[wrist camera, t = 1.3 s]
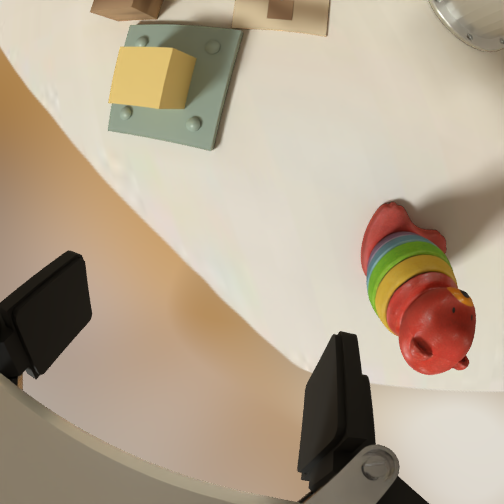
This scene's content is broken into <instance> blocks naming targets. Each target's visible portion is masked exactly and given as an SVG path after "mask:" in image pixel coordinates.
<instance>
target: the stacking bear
mask: <svg viewBox="0 0 504 504" xmlns="http://www.w3.org/2000/svg"><path fill="white" fill-rule="evenodd" d="M446 250H447V248H446V240H445V238H444V236H442V235H440V233H439V232H438V231H437V230H425V229H421V228H419V227H417V226H416V225H414V224H413V223H412V222H411V220H410V218H409V216H408V214H407V212H406V210H405V209H404V207H402V206H400V205H397V204H396V203H395V202H391V203H389V204H383V205H382V206H380V207H379V208H378V209H377V211H376V212H375V213H374V215H373V217H372V218H371V220H370V222H369V224H368V226H367V229H366V231H365V234H364V238H363V242H362V247H361V264H362V269H363V271H364V273H365V275H366V277H367V291H368V296H369V300H370V302H371V305H372V307H373V309H374V311H375V312H376V314H377V315H378V317H379V318H380V320H381V321H382V323H383V324H384V325H385V327H386V328H387V329H388V330H389V331H390V332H391V333H393V334H394V335H396V336H399V345H400V349H401V352H402V355H403V357H404V359H405V360H406V362H407V363H408V365H409V366H410V367H412V368H413V369H414V370H416V371H417V372H420V373H422V374H426V375H434V374H439V373H443V372H445V371H447V370H449V369H451V368H455V369H456V370H463V369H465V368H467V367H468V365H469V360H468V358H467V356H466V354H467V352H468V351H469V349H470V347H471V345H472V342H473V338H474V333H475V325H476V314H475V308H474V305H473V302H472V300H471V298H470V297H469V295H468V294H467V293H466V292H464V291H462V290H460V289H458V286H457V282H456V278H455V276H454V273H453V269H452V267H451V265H450V262H449V261H448V259H447V257H446V255H445V253H446Z"/></svg>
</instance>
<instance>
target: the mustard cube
mask: <svg viewBox="0 0 504 504" xmlns="http://www.w3.org/2000/svg"><path fill="white" fill-rule="evenodd" d="M196 59H197V58H195V57H193V56H190V55H188V54H186V53H184V52H182V51H179V50H177V49H175V48H167V47H120V50H119V54H118V58H117V62H116V66H115V71H114V76H113V80H112V85H111V91H110V96H109V102H108V103H113V104H123V105H132V106H140V107H148V108H155V109H184V108H185V104H186V99H187V95H188V90H189V86H190V82H191V78H192V74H193V70H194V66H195V62H196Z"/></svg>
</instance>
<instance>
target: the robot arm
mask: <svg viewBox="0 0 504 504" xmlns="http://www.w3.org/2000/svg"><path fill="white" fill-rule="evenodd" d="M429 3H430V5H431V7H432V9H433V10H434V12H435V13H436V15H437V16H438V18H439V19H440V20H441V21H442V23H443V24H444V25H445V26H446V27H447V28H448V29H449V30H450V31H451V32H452V33H453V34H454V35H455V36H456V37H458V38H459V39H460V40H461V41H463V42H464V43H466V44H467V45H469V46H471V47H473V48H475V49H478V50H481V51H487V52H492V51H497V50H501V49H503V48H504V0H429ZM91 317H92V310H91V304H90V297H89V290H88V283H87V276H86V266H85V261H84V260H83V257H82V255H80V254H78V253H75V252H73V251H67V252H65V253H64V254H62V255H61V256H59V257H58V258H57V259H55V260H54V261H53V262H51V263H50V264H49V265H47V266H46V267H44V268H43V269H42V270H41V271H39V272H38V273H37V274H35V275H34V276H33V277H31V278H30V279H29V280H28V281H26V282H25V283H24V284H23V285H21V286H20V287H19V288H17V290H15V291H14V292H13V293H11V294H10V295H9V296H8V297H6V299H4V300H3V301H2V302H1V303H0V504H429V503H427V501H425V500H424V499H423V498H422V497H421V496H420V495H419V494H417V493H416V492H415V491H414V490H413V489H412V488H411V487H409V486H408V485H407V484H406V483H405V482H404V481H403V480H401V479H400V478H399V477H398V474H399V461H398V459H397V457H396V455H395V454H394V453H393V452H392V450H390V449H389V448H387V447H385V446H382V445H376V443H375V430H374V418H373V408H372V399H371V390H370V382H369V378H368V376H367V375H362V370H361V362H360V354H359V347H358V339H357V335H356V334H351V333H347V332H342V331H340V332H339V333H338V335H336V334H333V335H332V337H331V339H330V341H329V343H328V345H327V347H326V349H325V351H324V353H323V354H322V356H321V358H320V360H319V362H318V364H317V366H316V368H315V370H314V371H313V373H312V375H311V377H310V379H309V381H308V383H307V385H306V389H305V398H304V410H303V422H302V432H301V441H300V450H299V459H298V467H297V469H298V472H301V473H302V477H301V480H305V481H309V489H310V490H311V491H310V492H309V493H307V494H306V495H305V496H304V497H302V498H301V499H300V500H299V501H297V502H293V501H288V500H283V499H278V498H273V497H268V496H263V495H257V494H253V493H248V492H244V491H240V490H235V489H231V488H227V487H224V486H220V485H216V484H212V483H209V482H206V481H202V480H199V479H195V478H192V477H189V476H186V475H183V474H180V473H177V472H174V471H172V470H169V469H166V468H163V467H160V466H158V465H156V464H153V463H151V462H148V461H146V460H143V459H141V458H139V457H136V456H134V455H132V454H130V453H127V452H125V451H123V450H121V449H119V448H117V447H115V446H112V445H110V444H108V443H106V442H104V441H102V440H101V439H99V438H97V437H95V436H93V435H91V434H89V433H88V432H86V431H84V430H82V429H80V428H79V427H77V426H75V425H74V424H72V423H70V422H68V421H67V420H65V419H64V418H62V417H60V416H59V415H57V414H56V413H54V412H52V411H51V410H50V409H48V408H47V407H45V406H44V405H42V404H41V403H39V402H38V401H36V400H35V399H34V398H32V397H31V396H29V395H28V394H27V393H25V392H24V391H23V372H24V371H25V370H26V372H27V373H28V374H29V375H30V376H32V377H33V378H35V379H37V378H38V377H39V375H42V374H44V373H45V372H46V371H47V369H48V368H49V367H50V366H51V365H52V364H53V362H54V361H55V360H56V359H57V358H58V356H59V355H60V354H61V353H62V352H63V351H64V349H65V348H66V347H67V346H68V345H69V344H70V343H71V341H72V340H73V339H74V338H75V337H76V336H77V335H78V333H79V332H80V331H81V330H82V329H83V328H84V327H85V326H86V325H87V323H88V322H89V321H90V320H91Z"/></svg>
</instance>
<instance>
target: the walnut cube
mask: <svg viewBox="0 0 504 504" xmlns="http://www.w3.org/2000/svg"><path fill="white" fill-rule="evenodd" d="M162 2H163V0H94V2H93V5H92V7H91V11H90V12H91V13H95V14H98V15H101V16H104V17H107V18H110V19H113V20H116V21H128V20H150V19H157V18H158V15H159V11H160V8H161V5H162Z"/></svg>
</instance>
